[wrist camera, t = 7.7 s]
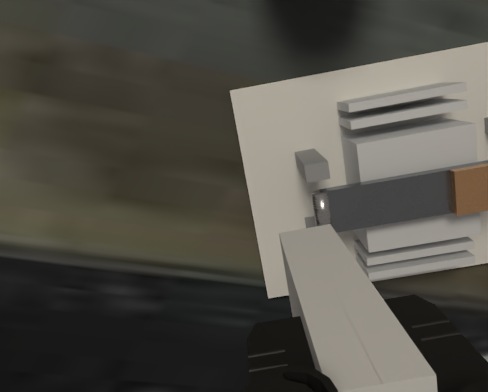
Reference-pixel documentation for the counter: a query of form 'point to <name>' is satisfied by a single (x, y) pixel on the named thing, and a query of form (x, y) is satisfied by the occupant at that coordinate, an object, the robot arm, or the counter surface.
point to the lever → (403, 197)
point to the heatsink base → (318, 128)
